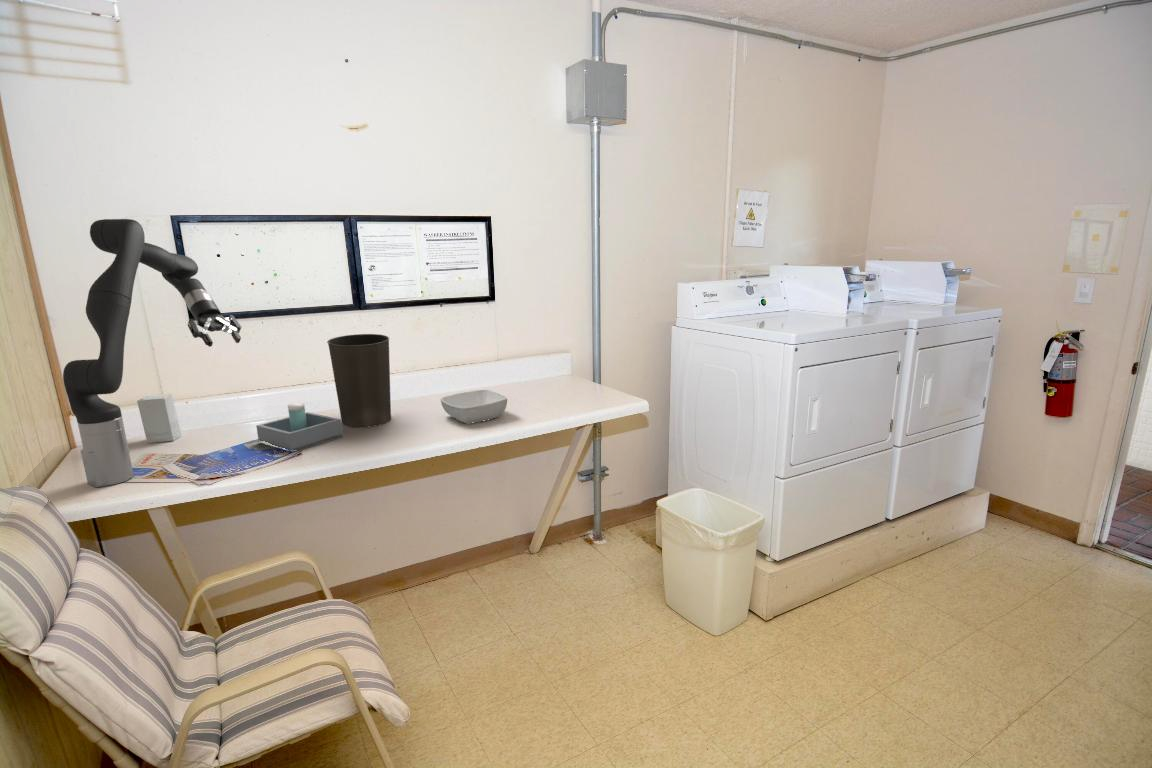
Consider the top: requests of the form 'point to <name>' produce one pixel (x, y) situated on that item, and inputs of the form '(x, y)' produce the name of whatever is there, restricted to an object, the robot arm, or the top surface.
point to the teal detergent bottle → (297, 416)
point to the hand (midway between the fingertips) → (225, 343)
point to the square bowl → (474, 405)
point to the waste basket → (362, 378)
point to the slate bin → (300, 432)
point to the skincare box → (159, 418)
